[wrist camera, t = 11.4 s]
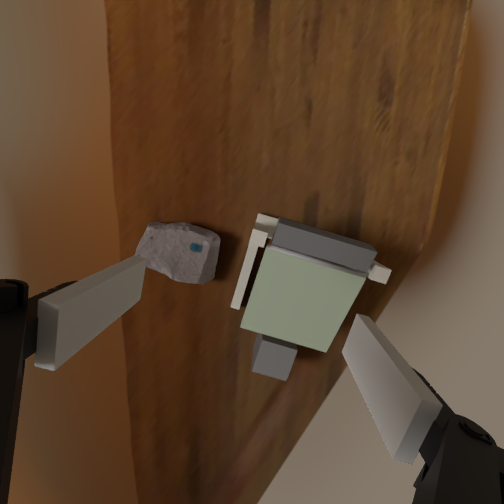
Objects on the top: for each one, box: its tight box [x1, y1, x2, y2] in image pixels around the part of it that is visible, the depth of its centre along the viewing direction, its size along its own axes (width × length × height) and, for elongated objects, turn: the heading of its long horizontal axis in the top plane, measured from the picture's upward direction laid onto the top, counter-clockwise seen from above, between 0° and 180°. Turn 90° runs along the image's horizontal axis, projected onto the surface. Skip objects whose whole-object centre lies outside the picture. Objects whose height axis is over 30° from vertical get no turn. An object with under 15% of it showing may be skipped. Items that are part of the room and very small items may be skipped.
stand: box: [231, 213, 392, 310], centre depth 40 cm, size 18×19×12 cm
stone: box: [135, 222, 221, 284], centre depth 43 cm, size 13×10×6 cm
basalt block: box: [252, 333, 298, 381], centre depth 45 cm, size 6×6×7 cm
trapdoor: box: [241, 217, 377, 352], centre depth 37 cm, size 18×14×3 cm
